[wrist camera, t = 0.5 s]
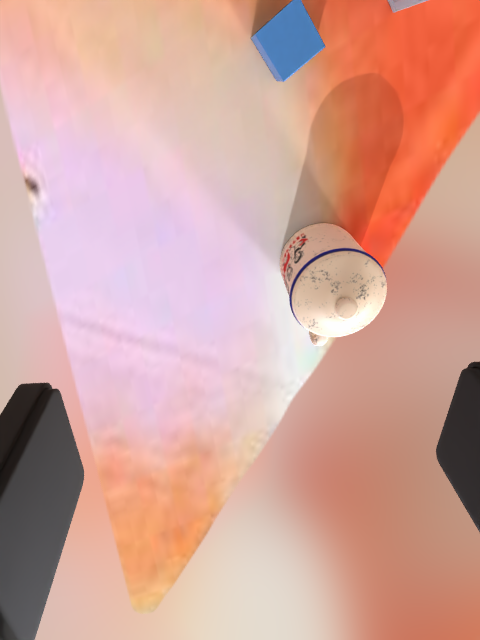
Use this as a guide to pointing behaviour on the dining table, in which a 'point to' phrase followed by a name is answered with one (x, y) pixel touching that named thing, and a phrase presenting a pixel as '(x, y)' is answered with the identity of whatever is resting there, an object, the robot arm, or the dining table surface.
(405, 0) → the grey drawer cabinet
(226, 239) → the dining table surface
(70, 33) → the dining table surface
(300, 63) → the blue wooden cube
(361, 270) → the teacup with lid
